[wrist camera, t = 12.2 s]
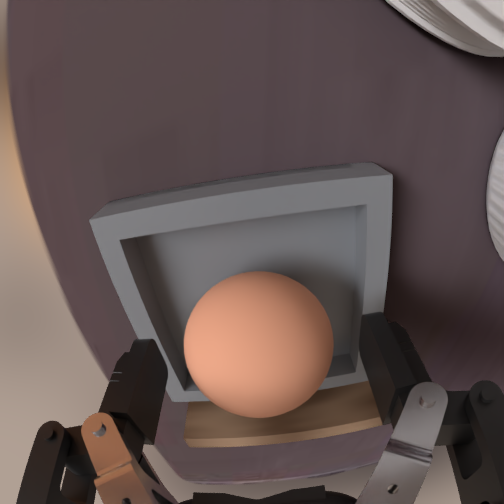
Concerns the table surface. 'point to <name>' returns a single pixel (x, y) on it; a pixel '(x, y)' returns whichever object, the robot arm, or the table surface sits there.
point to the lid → (460, 22)
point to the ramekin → (496, 197)
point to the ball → (258, 344)
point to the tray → (252, 252)
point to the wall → (285, 420)
